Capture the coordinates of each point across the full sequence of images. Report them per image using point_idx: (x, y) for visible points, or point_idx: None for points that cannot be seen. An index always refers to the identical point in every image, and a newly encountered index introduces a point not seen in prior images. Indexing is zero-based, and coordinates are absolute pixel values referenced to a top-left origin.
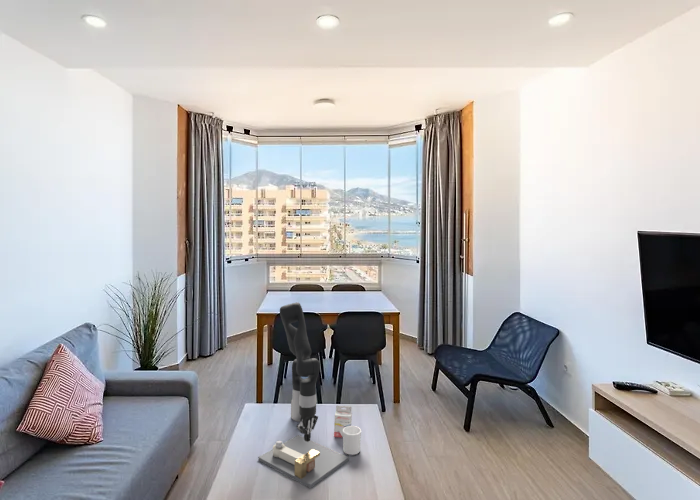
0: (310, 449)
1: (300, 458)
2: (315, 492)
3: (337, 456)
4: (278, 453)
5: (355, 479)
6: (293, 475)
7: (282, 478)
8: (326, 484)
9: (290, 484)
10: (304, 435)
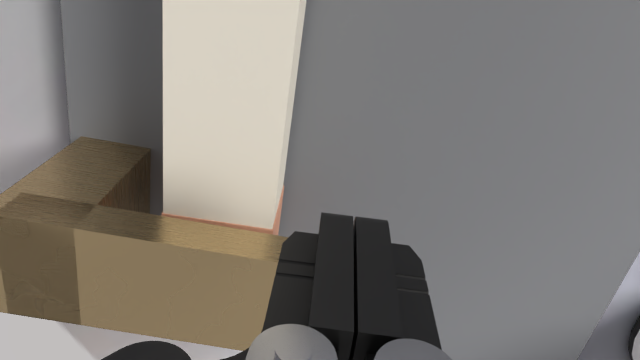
0: (597, 12)
1: (61, 249)
2: (87, 328)
3: (544, 311)
4: None
5: None
6: (72, 128)
7: (22, 19)
8: (202, 348)
9: (19, 138)
10: (267, 308)
